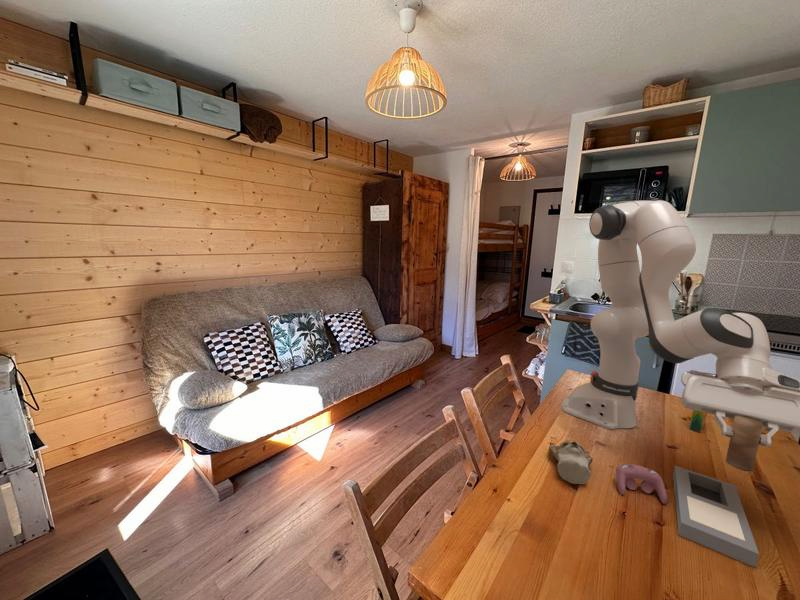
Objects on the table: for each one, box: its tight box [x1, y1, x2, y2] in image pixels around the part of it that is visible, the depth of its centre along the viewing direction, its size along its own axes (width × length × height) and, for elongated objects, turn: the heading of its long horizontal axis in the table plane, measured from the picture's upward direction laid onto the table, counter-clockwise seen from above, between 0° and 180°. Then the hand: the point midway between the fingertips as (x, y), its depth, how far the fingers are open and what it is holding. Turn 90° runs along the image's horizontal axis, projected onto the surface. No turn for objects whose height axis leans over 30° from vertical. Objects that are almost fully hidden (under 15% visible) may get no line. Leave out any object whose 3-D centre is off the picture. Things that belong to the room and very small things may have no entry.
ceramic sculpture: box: [548, 440, 594, 485], centre depth 85 cm, size 11×9×15 cm
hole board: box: [672, 465, 760, 568], centre depth 72 cm, size 11×22×3 cm, turn 143°
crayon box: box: [688, 409, 708, 433], centre depth 106 cm, size 7×3×12 cm, turn 129°
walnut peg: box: [725, 416, 764, 472], centre depth 67 cm, size 4×4×10 cm
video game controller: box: [615, 464, 668, 505], centre depth 79 cm, size 10×5×7 cm, turn 71°
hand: (745, 440), depth 67 cm, fingers closed on walnut peg, 4 cm apart
